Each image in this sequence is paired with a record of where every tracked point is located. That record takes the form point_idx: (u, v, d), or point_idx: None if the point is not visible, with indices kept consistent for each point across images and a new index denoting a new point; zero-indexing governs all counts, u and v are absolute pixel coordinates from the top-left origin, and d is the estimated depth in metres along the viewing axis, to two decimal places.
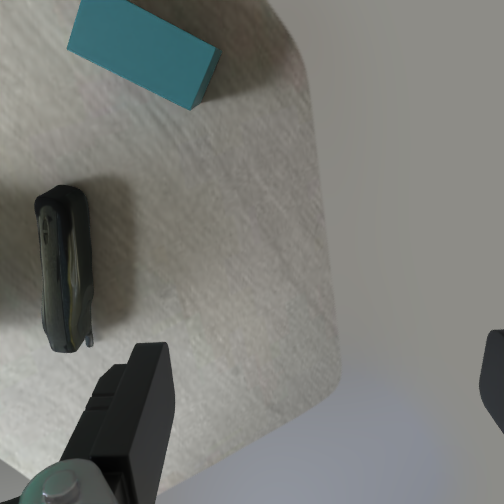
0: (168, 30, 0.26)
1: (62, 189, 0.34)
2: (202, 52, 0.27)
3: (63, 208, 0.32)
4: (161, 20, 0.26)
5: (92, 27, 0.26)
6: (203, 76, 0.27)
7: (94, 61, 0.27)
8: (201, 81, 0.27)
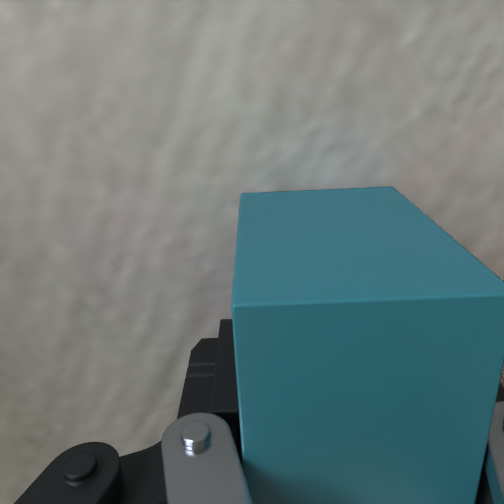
0: None
1: None
2: None
3: None
4: None
5: (355, 361, 0.07)
6: None
7: (244, 403, 0.07)
8: None
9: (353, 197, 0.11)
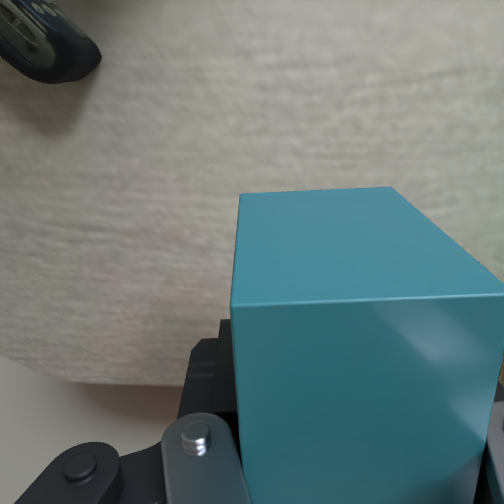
0: None
1: (84, 72, 0.22)
2: None
3: (37, 78, 0.19)
4: None
5: (353, 361, 0.07)
6: None
7: (243, 403, 0.07)
8: None
9: (352, 197, 0.11)
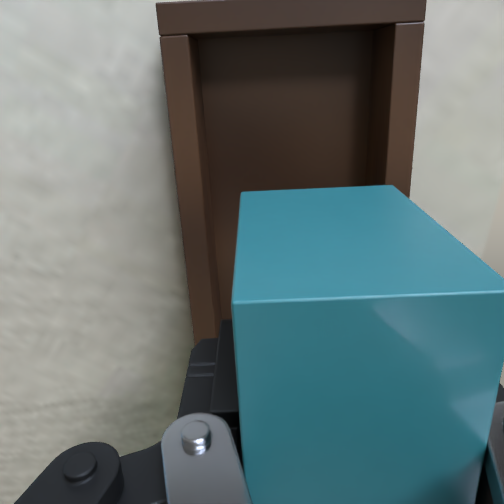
0: None
1: None
2: None
3: None
4: None
5: (355, 359, 0.07)
6: None
7: (244, 401, 0.07)
8: None
9: (353, 195, 0.11)
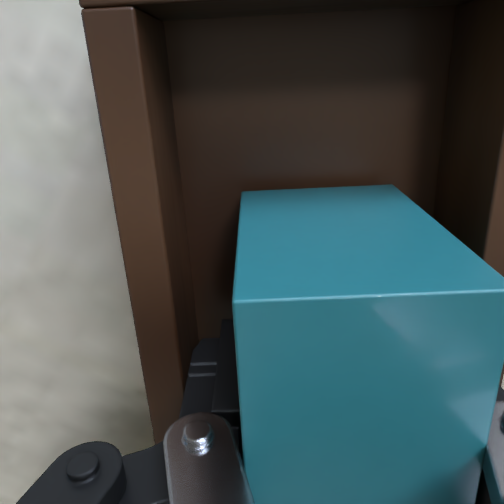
0: None
1: None
2: None
3: None
4: None
5: (356, 357, 0.07)
6: None
7: (245, 400, 0.07)
8: None
9: (353, 195, 0.11)
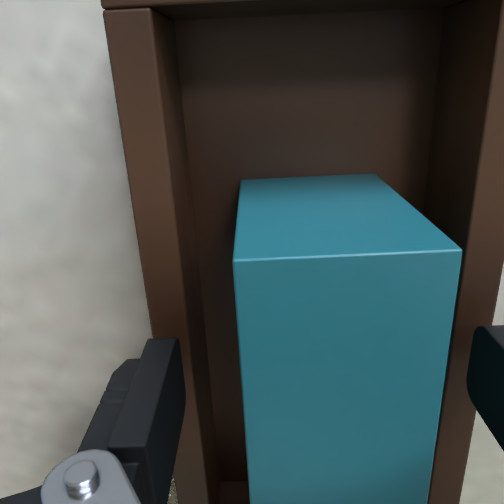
0: (414, 468, 0.10)
1: None
2: None
3: None
4: (431, 446, 0.09)
5: (333, 307, 0.08)
6: None
7: (243, 344, 0.08)
8: None
9: (339, 182, 0.12)
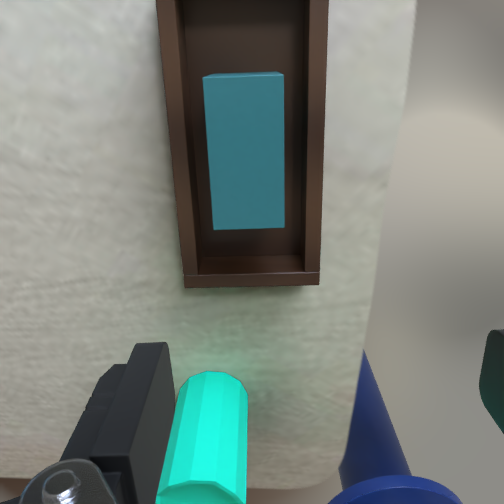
0: (276, 177, 0.24)
1: None
2: (274, 217, 0.25)
3: None
4: (282, 166, 0.24)
5: (239, 98, 0.22)
6: (252, 227, 0.25)
7: (206, 113, 0.23)
8: (246, 228, 0.25)
9: (257, 72, 0.27)
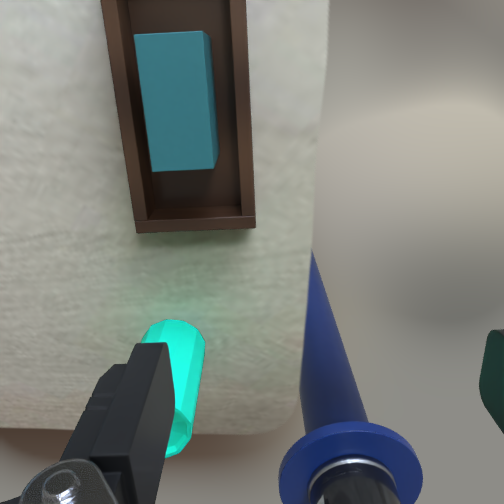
0: (203, 122, 0.28)
1: None
2: (204, 159, 0.29)
3: None
4: (207, 112, 0.28)
5: (166, 52, 0.26)
6: (186, 169, 0.29)
7: (139, 66, 0.27)
8: (181, 169, 0.29)
9: None
